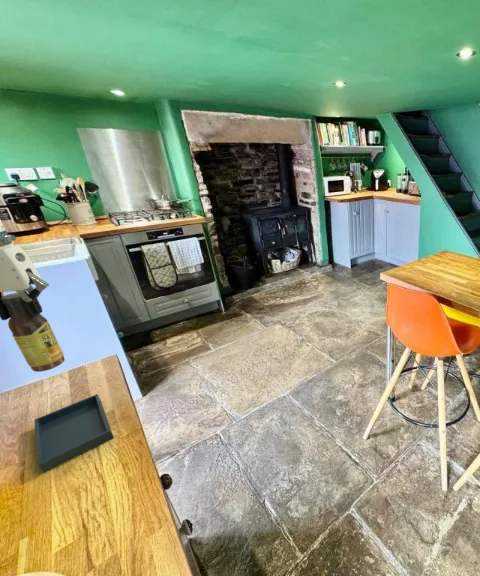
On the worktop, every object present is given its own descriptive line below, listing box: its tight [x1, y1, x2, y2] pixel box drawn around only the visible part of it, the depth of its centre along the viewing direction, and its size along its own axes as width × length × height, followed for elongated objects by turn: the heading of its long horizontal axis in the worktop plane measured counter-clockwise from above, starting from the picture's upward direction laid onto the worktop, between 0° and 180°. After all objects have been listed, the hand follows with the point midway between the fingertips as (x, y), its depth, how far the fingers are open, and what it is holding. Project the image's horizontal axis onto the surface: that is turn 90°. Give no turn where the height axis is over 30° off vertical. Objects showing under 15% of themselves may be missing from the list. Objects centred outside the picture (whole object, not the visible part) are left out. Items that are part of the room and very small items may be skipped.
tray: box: [34, 393, 115, 473], centre depth 76 cm, size 18×12×2 cm
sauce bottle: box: [1, 292, 66, 373], centre depth 74 cm, size 7×6×20 cm
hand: (22, 315), depth 72 cm, fingers closed on sauce bottle, 4 cm apart
